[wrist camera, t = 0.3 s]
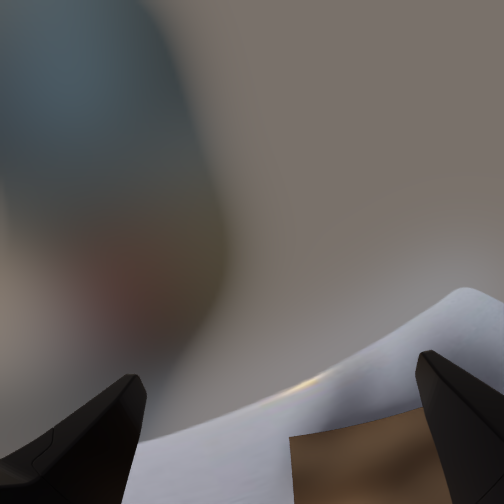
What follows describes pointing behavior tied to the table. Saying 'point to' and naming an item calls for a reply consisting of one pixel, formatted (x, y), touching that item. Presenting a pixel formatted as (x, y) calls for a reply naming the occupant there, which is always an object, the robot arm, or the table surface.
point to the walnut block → (370, 464)
